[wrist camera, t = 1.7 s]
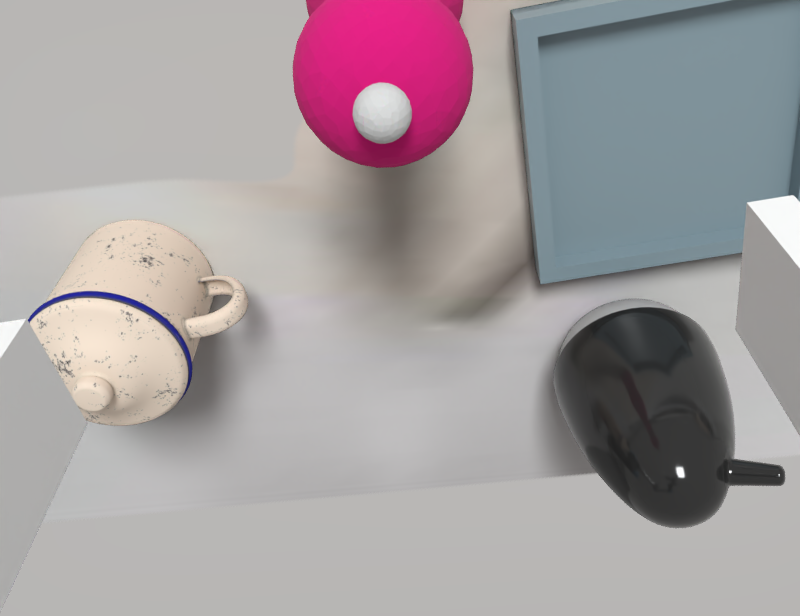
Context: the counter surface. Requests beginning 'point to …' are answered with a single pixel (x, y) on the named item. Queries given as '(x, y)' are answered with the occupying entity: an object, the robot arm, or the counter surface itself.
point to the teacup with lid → (133, 320)
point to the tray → (653, 127)
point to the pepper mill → (383, 77)
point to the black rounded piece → (653, 411)
